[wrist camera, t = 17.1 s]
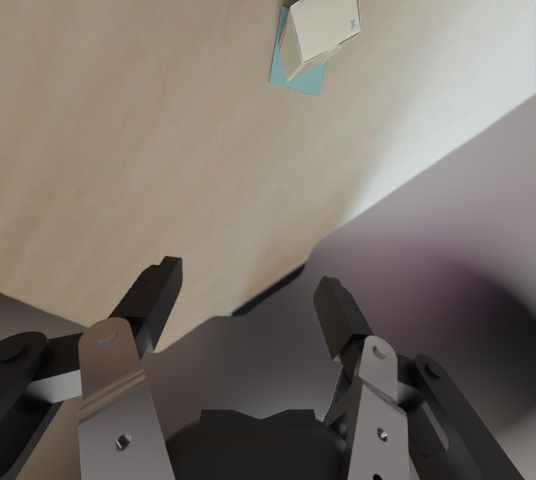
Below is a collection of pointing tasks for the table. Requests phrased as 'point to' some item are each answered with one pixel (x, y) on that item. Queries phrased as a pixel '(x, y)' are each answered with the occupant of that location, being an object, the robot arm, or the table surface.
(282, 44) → the skincare box
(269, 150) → the table surface
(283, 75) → the mat
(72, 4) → the table surface
